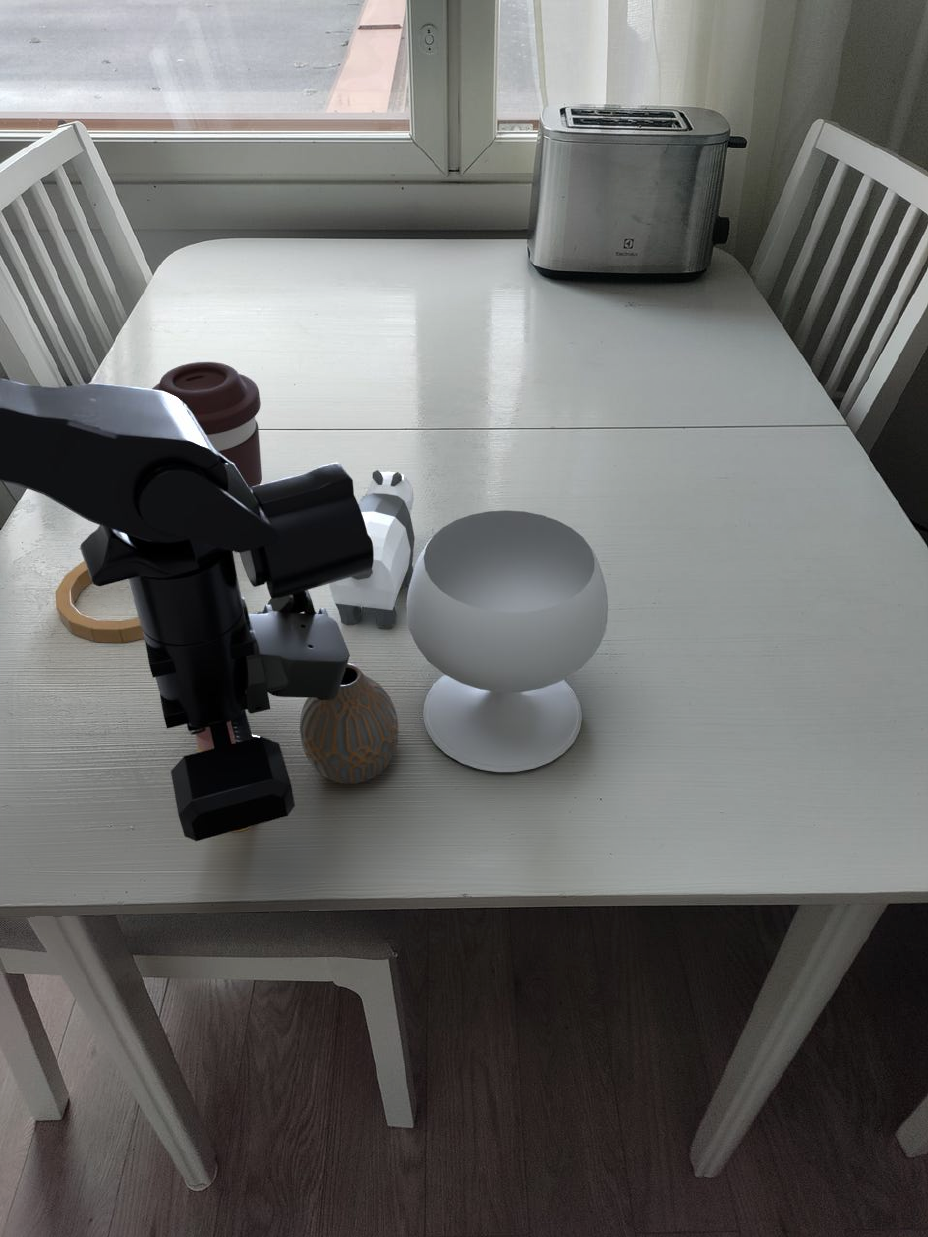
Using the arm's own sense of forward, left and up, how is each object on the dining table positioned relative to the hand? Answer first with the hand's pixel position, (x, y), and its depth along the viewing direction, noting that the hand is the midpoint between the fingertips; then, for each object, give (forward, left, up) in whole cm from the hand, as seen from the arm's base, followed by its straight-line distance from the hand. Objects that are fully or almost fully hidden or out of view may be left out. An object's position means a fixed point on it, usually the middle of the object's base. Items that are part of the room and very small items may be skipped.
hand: (233, 791), depth 65 cm
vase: (+8, -5, -3) cm, 9 cm away
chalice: (+17, -13, -3) cm, 21 cm away
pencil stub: (0, 0, -2) cm, 2 cm away
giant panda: (+27, +3, -3) cm, 27 cm away
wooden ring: (+16, +22, -2) cm, 28 cm away
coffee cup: (+30, +22, -3) cm, 37 cm away
